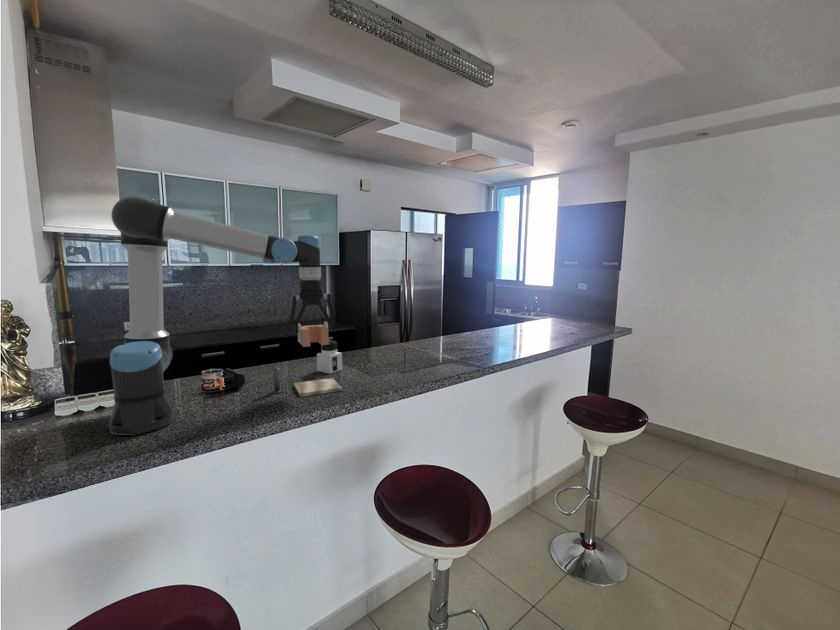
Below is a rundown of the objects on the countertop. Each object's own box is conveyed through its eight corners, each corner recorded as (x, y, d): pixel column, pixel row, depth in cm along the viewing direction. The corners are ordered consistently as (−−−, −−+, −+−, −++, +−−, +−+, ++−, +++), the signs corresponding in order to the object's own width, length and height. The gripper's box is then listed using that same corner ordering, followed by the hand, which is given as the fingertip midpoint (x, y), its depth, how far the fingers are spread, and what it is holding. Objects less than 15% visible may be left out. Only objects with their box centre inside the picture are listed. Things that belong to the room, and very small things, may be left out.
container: (342, 369, 169) (342, 340, 168) (329, 374, 163) (328, 343, 161) (330, 367, 173) (329, 338, 172) (316, 371, 167) (316, 341, 165)
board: (299, 396, 135) (299, 393, 135) (293, 386, 147) (293, 383, 146) (341, 390, 142) (341, 387, 142) (333, 380, 153) (333, 378, 153)
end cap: (246, 389, 143) (245, 371, 142) (226, 394, 138) (225, 375, 137) (234, 383, 150) (233, 366, 149) (215, 388, 144) (214, 370, 144)
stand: (273, 393, 138) (272, 369, 137) (272, 391, 140) (271, 367, 139) (281, 392, 139) (280, 368, 138) (280, 390, 142) (279, 366, 140)
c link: (303, 347, 136) (302, 330, 135) (299, 342, 144) (298, 326, 143) (328, 344, 140) (328, 328, 139) (323, 340, 148) (322, 324, 147)
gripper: (280, 280, 131) (283, 345, 134) (343, 278, 141) (345, 339, 144) (277, 279, 138) (280, 341, 141) (337, 278, 147) (339, 335, 150)
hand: (313, 340), depth 142 cm, fingers closed on c link, 9 cm apart
